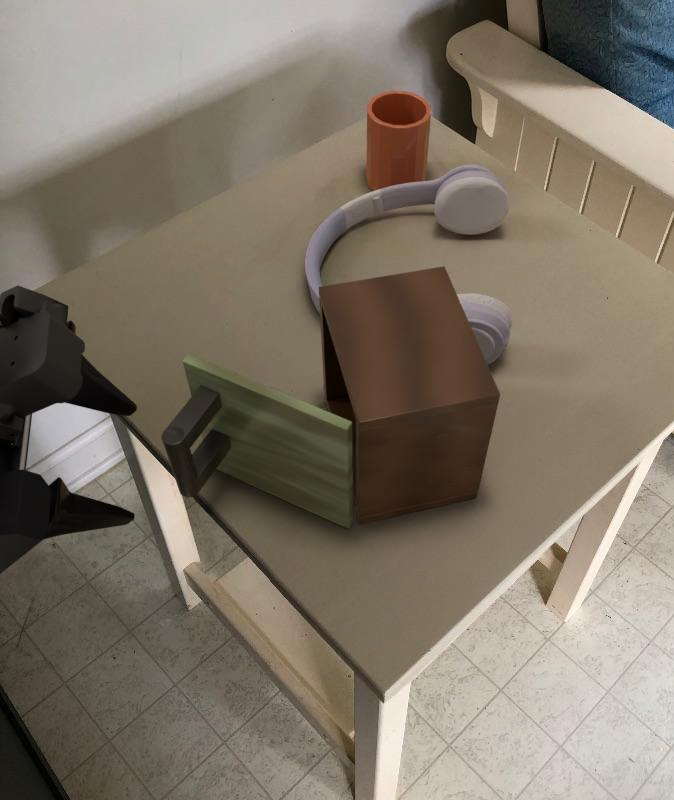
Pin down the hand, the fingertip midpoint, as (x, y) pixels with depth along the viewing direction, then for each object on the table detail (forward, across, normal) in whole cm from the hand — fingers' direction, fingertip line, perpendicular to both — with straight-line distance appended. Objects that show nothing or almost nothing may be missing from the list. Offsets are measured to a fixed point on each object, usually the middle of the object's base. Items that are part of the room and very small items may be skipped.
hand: (132, 462), depth 59 cm
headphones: (+23, +24, -11) cm, 35 cm away
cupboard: (+20, +4, -8) cm, 22 cm away
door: (+12, -1, 0) cm, 12 cm away
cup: (+24, +40, -12) cm, 48 cm away
